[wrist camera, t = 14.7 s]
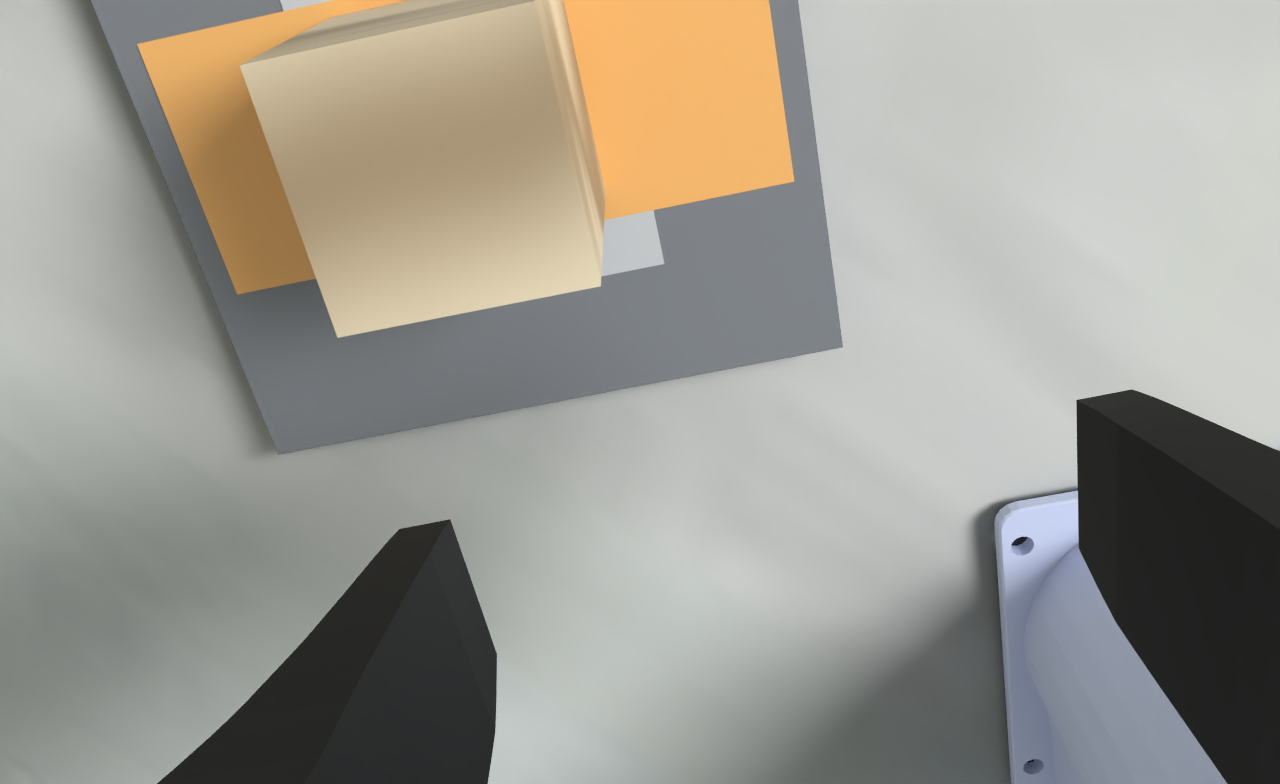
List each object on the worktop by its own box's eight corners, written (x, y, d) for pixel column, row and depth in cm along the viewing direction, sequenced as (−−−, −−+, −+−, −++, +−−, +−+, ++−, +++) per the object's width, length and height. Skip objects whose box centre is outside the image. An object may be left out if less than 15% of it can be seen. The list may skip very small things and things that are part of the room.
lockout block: (605, 191, 20) (600, 286, 15) (401, 233, 20) (337, 337, 16) (555, -33, 18) (534, 0, 14) (332, 16, 18) (239, 65, 14)
